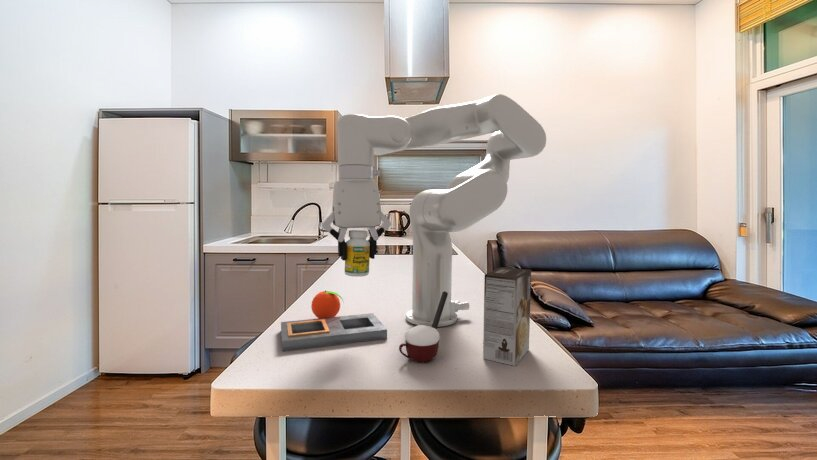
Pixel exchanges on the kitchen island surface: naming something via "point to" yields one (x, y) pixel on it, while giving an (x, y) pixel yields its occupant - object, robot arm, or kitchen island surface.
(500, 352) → the coffee box
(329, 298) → the clementine
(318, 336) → the two-pocket grey tray
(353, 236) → the supplement bottle
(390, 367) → the kitchen island surface
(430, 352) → the cocoa
